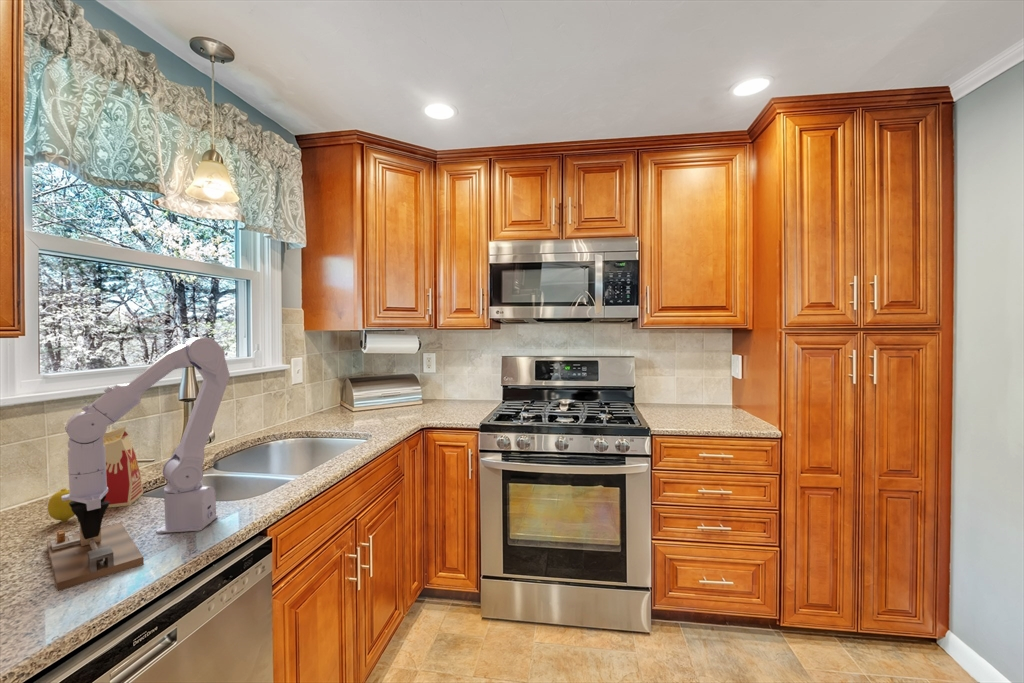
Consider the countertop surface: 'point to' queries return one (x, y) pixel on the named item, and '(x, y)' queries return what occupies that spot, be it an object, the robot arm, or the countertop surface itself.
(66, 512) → the lemon
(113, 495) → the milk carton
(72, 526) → the countertop surface
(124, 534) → the keeper board
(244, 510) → the countertop surface
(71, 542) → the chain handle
